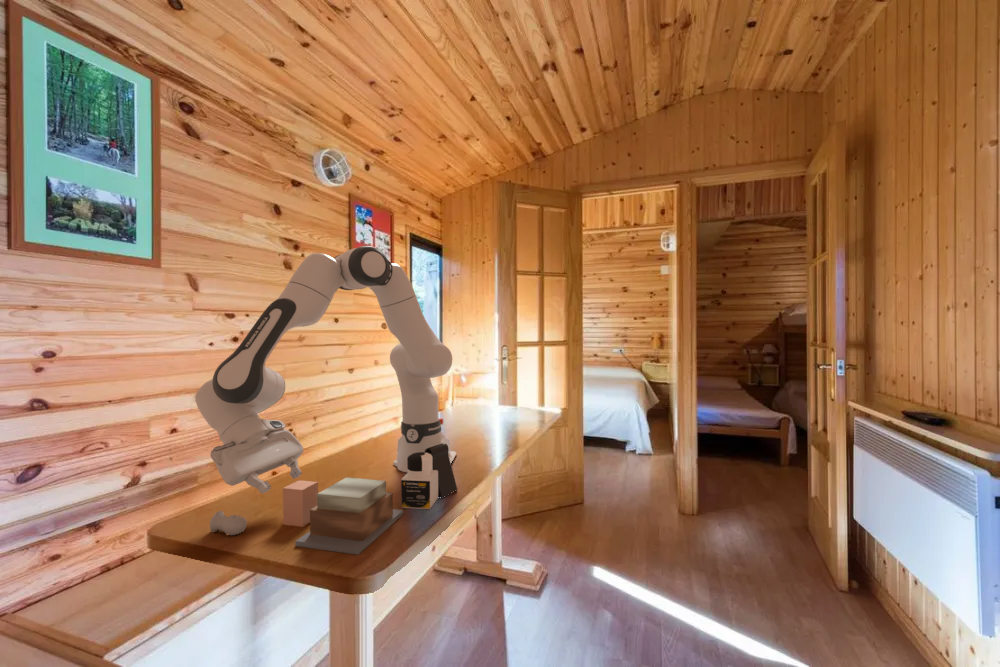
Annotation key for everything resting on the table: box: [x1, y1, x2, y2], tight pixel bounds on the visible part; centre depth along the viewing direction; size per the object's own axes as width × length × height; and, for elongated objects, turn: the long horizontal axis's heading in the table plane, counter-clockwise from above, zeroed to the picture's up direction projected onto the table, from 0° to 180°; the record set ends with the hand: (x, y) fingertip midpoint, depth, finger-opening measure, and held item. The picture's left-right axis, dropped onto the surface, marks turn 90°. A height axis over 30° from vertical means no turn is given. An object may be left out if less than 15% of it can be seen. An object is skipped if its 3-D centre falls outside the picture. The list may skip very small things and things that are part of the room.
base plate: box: [295, 508, 404, 555], centre depth 91 cm, size 18×14×1 cm
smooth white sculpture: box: [209, 510, 248, 536], centre depth 90 cm, size 4×8×5 cm
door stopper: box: [425, 443, 458, 499], centre depth 111 cm, size 9×6×12 cm, turn 54°
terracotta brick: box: [282, 479, 319, 528], centre depth 95 cm, size 5×5×8 cm
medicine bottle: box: [400, 452, 439, 510], centre depth 104 cm, size 7×7×12 cm
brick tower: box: [309, 476, 394, 541], centre depth 91 cm, size 12×12×8 cm
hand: (283, 483), depth 96 cm, fingers open, 8 cm apart
